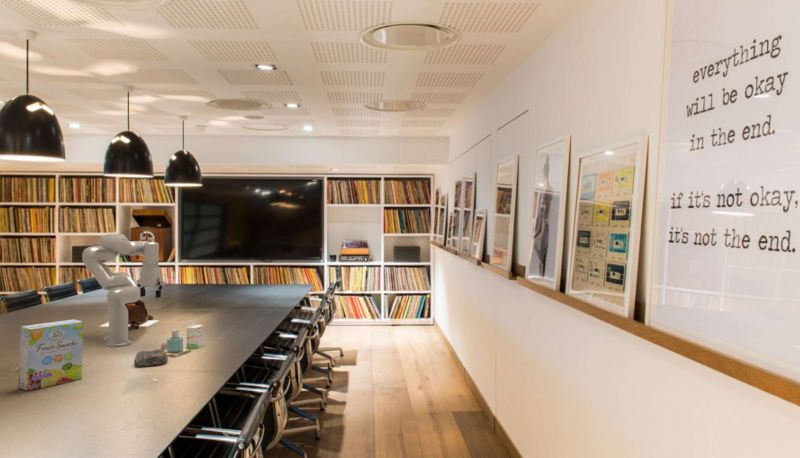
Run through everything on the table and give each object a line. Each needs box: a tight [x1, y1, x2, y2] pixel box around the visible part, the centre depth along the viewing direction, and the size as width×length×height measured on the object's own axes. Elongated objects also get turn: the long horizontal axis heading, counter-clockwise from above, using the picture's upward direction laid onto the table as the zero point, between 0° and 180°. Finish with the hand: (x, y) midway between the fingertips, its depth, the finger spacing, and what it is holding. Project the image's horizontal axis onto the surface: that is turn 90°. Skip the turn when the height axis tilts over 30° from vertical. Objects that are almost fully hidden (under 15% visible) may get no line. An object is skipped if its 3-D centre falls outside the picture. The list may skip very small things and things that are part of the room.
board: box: [160, 329, 192, 358], centre depth 280 cm, size 16×12×12 cm
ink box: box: [185, 319, 204, 350], centre depth 293 cm, size 9×5×15 cm, turn 168°
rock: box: [133, 348, 169, 367], centre depth 260 cm, size 13×6×15 cm
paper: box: [151, 377, 162, 382], centre depth 231 cm, size 25×17×1 cm
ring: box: [166, 336, 184, 352], centre depth 279 cm, size 7×7×6 cm
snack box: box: [18, 318, 84, 392], centre depth 227 cm, size 22×9×26 cm, turn 148°
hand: (150, 297), depth 286 cm, fingers open, 9 cm apart
